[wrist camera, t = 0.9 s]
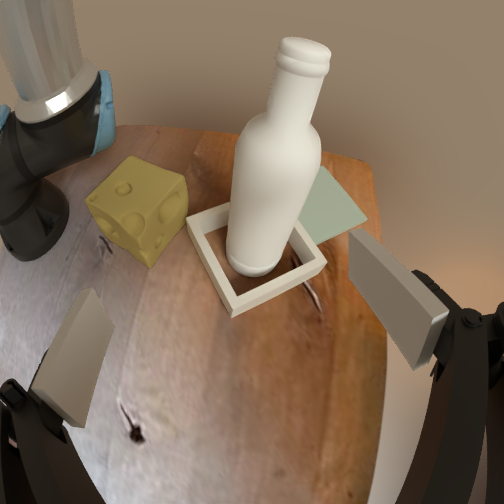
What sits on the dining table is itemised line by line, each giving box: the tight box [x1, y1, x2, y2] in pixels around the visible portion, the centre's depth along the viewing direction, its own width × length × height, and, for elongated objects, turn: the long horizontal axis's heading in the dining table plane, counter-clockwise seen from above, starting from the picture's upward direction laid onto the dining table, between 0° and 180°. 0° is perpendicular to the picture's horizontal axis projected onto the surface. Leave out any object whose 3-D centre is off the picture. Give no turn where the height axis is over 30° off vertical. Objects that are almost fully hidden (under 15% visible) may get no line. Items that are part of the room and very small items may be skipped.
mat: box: [298, 166, 367, 245], centre depth 46 cm, size 14×14×1 cm
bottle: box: [226, 37, 331, 277], centre depth 27 cm, size 8×8×30 cm
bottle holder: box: [186, 202, 327, 318], centre depth 38 cm, size 14×14×4 cm
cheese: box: [85, 155, 188, 268], centre depth 36 cm, size 10×11×10 cm
